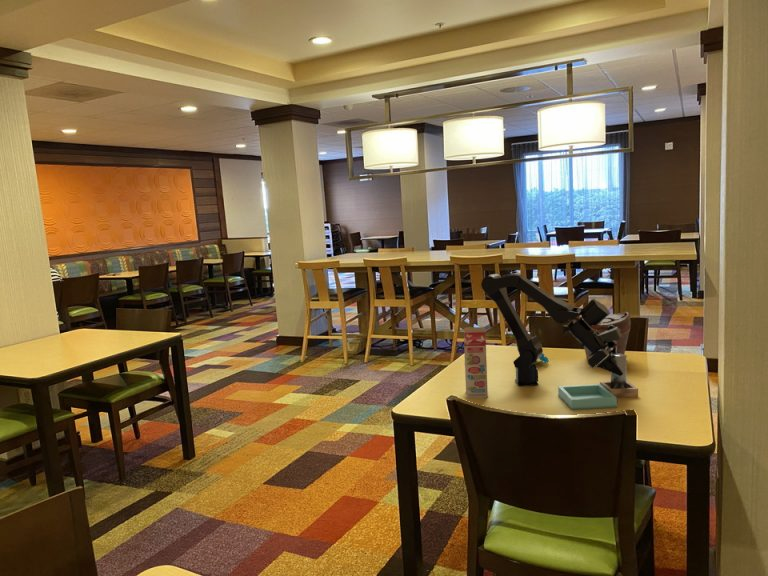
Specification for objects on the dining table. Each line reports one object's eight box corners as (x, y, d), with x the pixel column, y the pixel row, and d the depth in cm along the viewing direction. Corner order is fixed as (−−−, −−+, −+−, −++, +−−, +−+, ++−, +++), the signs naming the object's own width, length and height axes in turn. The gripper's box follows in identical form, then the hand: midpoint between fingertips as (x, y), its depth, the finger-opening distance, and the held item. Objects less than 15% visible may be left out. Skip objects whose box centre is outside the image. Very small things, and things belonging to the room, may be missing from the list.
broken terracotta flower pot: (566, 357, 226) (566, 311, 223) (606, 350, 233) (607, 306, 231) (599, 369, 210) (600, 319, 207) (642, 361, 217) (643, 313, 214)
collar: (610, 398, 179) (610, 390, 178) (599, 389, 187) (599, 381, 187) (638, 396, 178) (638, 388, 178) (626, 388, 187) (626, 380, 187)
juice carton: (466, 391, 193) (464, 325, 190) (487, 391, 192) (485, 325, 188) (466, 397, 186) (463, 329, 183) (487, 398, 185) (485, 329, 182)
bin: (571, 410, 170) (571, 400, 170) (558, 395, 183) (558, 386, 183) (616, 407, 170) (616, 397, 170) (600, 393, 183) (600, 384, 183)
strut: (614, 395, 180) (614, 357, 179) (608, 391, 185) (608, 353, 183) (628, 394, 180) (628, 356, 179) (622, 390, 185) (622, 353, 183)
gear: (554, 361, 216) (534, 344, 215) (544, 373, 215) (525, 356, 214) (541, 358, 227) (522, 341, 226) (531, 370, 226) (512, 353, 225)
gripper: (598, 324, 174) (639, 364, 169) (610, 313, 189) (647, 349, 185) (571, 348, 179) (610, 387, 175) (585, 335, 195) (621, 370, 190)
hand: (623, 372), depth 181 cm, fingers closed on strut, 4 cm apart
